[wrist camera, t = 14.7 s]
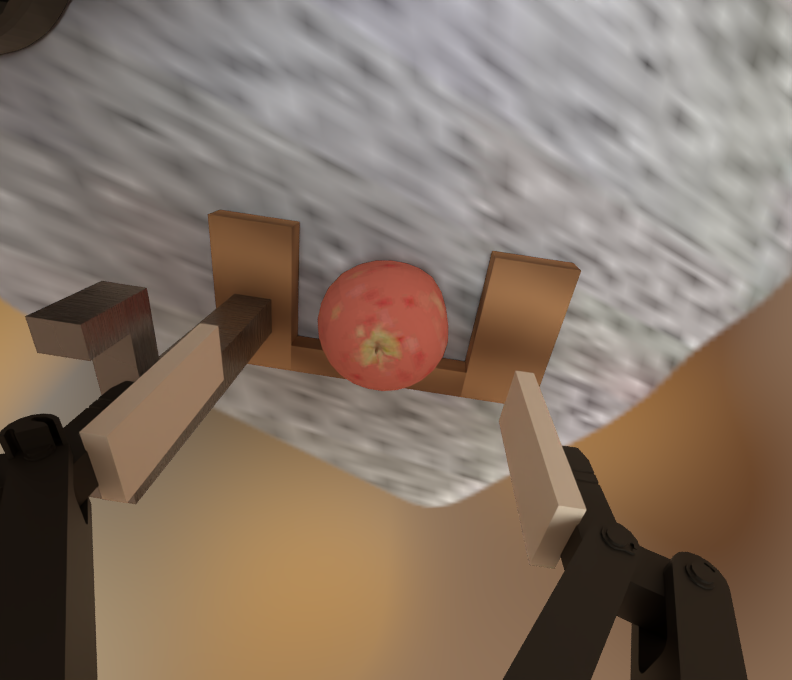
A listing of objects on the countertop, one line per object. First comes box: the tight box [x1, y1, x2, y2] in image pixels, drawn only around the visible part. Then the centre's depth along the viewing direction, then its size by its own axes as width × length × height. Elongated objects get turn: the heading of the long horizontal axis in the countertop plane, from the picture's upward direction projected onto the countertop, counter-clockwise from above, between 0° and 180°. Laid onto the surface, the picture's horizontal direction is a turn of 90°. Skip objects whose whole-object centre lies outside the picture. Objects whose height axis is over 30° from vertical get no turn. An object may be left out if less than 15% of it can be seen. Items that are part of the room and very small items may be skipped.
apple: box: [318, 261, 448, 391], centre depth 23 cm, size 7×7×8 cm
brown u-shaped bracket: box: [208, 210, 581, 404], centre depth 27 cm, size 10×22×2 cm, turn 83°
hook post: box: [25, 281, 272, 504], centre depth 19 cm, size 7×2×14 cm, turn 173°
